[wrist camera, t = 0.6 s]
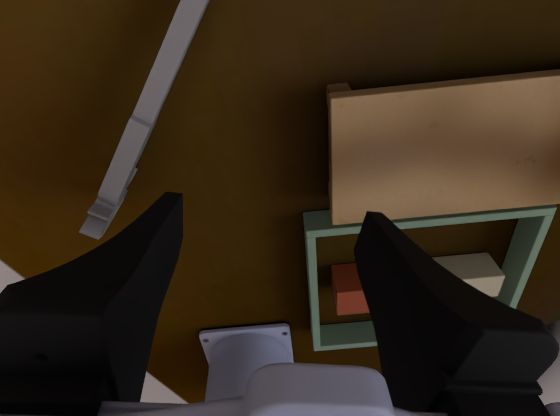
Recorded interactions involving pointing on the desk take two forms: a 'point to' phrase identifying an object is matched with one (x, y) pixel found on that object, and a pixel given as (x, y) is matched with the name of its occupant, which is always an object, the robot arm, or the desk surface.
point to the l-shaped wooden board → (444, 146)
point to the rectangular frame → (319, 224)
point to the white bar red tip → (467, 267)
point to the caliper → (144, 117)
